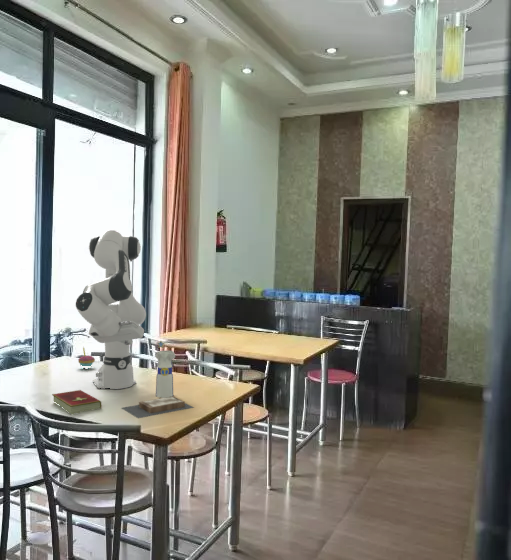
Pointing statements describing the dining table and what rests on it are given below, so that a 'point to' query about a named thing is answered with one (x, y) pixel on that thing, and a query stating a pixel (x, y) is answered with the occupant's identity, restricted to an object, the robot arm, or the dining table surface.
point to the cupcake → (86, 360)
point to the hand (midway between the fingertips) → (129, 343)
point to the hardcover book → (76, 401)
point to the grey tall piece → (164, 373)
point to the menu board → (161, 404)
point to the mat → (142, 413)
